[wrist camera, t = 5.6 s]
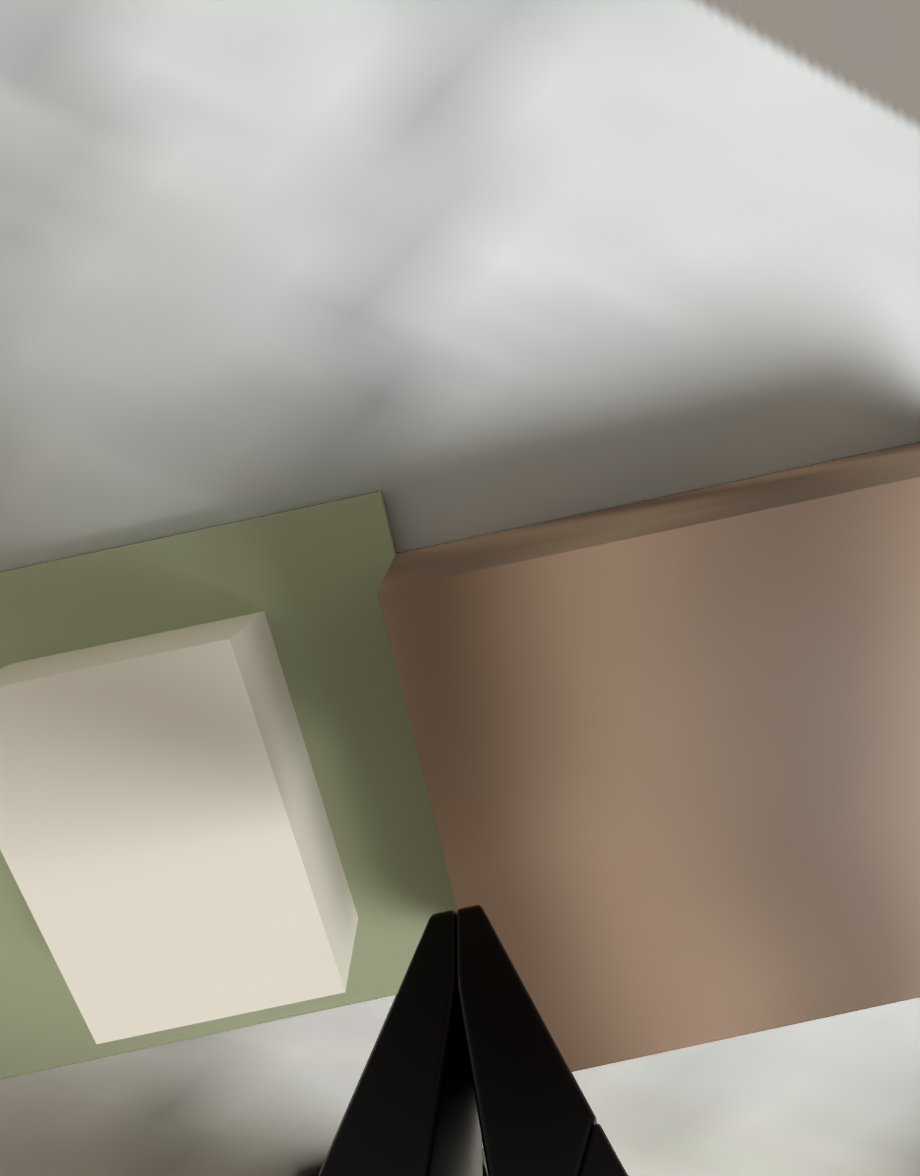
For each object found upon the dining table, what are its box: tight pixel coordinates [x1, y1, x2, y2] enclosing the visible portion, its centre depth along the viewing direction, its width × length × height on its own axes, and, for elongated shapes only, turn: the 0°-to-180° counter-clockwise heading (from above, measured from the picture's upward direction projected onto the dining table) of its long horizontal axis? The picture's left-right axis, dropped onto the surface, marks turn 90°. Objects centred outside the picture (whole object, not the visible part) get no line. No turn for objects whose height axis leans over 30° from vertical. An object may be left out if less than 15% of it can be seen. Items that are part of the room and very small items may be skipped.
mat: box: [0, 491, 458, 1079], centre depth 13 cm, size 16×14×1 cm
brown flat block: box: [377, 442, 920, 1072], centre depth 11 cm, size 14×11×4 cm
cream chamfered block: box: [0, 611, 358, 1044], centre depth 12 cm, size 6×9×2 cm, turn 11°
